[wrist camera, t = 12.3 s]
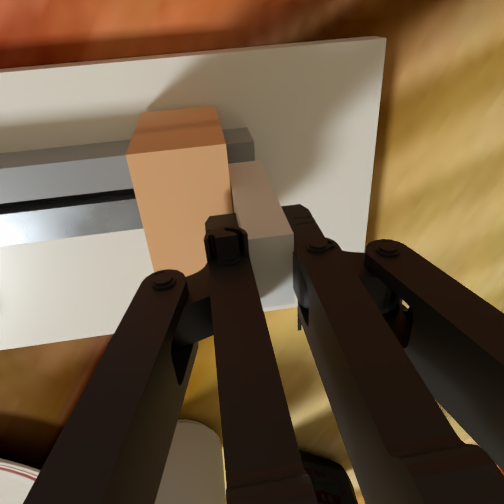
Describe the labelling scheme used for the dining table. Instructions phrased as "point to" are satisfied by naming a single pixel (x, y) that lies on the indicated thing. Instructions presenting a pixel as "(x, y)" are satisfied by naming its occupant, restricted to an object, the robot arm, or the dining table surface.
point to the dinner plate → (15, 481)
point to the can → (193, 467)
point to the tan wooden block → (179, 183)
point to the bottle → (328, 480)
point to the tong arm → (68, 216)
